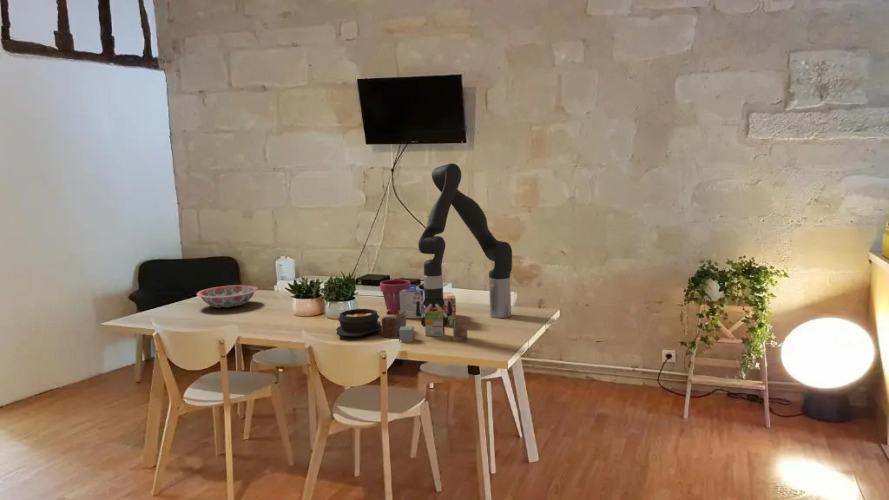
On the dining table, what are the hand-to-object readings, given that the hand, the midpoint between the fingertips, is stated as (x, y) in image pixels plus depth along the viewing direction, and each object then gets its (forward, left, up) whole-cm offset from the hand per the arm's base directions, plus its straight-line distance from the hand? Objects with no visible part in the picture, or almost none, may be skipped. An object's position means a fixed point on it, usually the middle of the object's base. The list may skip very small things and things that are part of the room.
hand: (434, 326), depth 274 cm
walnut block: (-11, +7, -4) cm, 13 cm away
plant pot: (+23, -49, -4) cm, 54 cm away
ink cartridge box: (+13, -31, -4) cm, 34 cm away
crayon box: (0, 0, -4) cm, 4 cm away
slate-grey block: (+10, +7, -4) cm, 13 cm away
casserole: (+32, -6, -4) cm, 33 cm away
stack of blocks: (-3, -25, -4) cm, 25 cm away
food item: (+17, -4, -4) cm, 18 cm away
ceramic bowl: (+109, -60, -4) cm, 124 cm away
